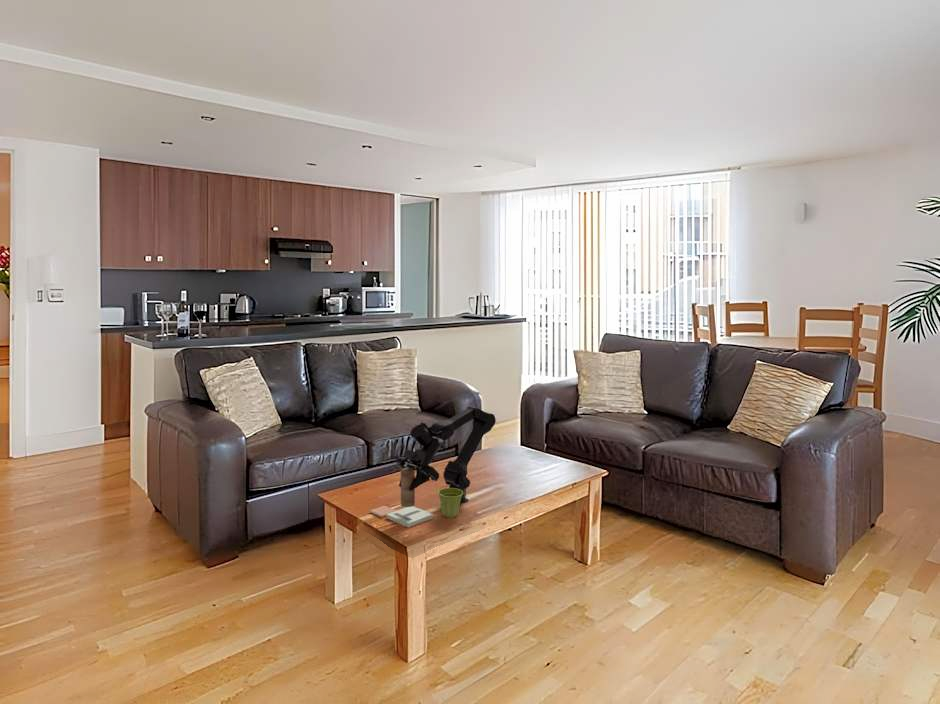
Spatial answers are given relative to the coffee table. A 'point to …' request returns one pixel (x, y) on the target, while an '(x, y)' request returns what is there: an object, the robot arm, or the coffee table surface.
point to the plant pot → (450, 501)
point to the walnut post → (407, 487)
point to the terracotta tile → (382, 511)
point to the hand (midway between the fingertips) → (404, 488)
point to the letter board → (409, 516)
